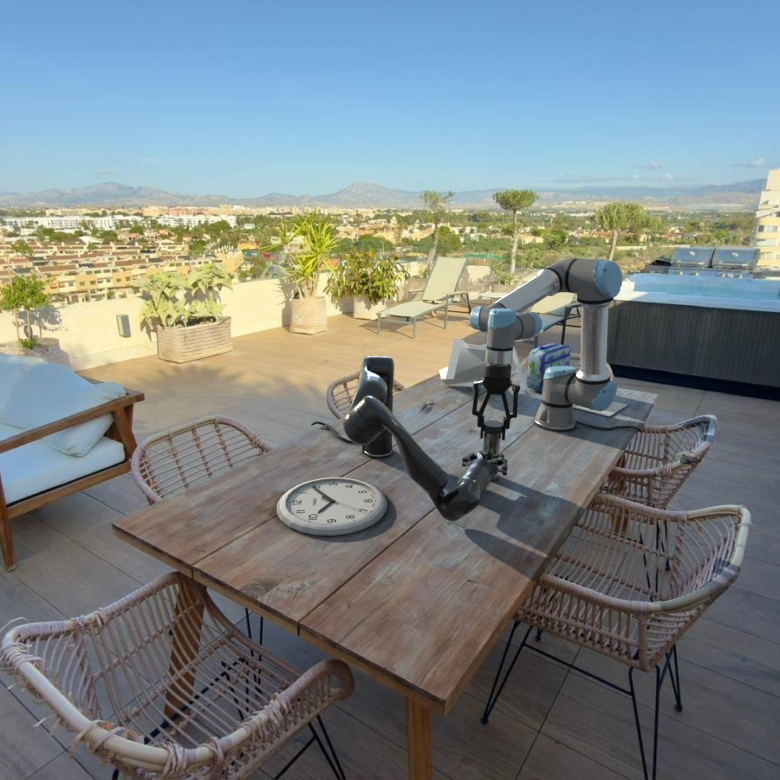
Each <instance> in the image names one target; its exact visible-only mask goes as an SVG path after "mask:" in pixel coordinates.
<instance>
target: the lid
mask: <svg viewBox="0 0 780 780" xmlns="http://www.w3.org/2000/svg"><path fill="white" fill-rule="evenodd" d="M484 432H485V433H488V434H501V435H502V432H503V422H502V421H499V420H491V419H490V420H486V421H485V420H484V430H483V433H484Z"/></svg>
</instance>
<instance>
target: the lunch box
mask: <svg viewBox="0 0 780 780" xmlns="http://www.w3.org/2000/svg"><path fill="white" fill-rule="evenodd" d="M570 361H571V347H570V345H565V344H558V343H549V344H545V345H542V346H541V345H540V346H538V347H536V348H533V349H531V351H530V353H529V354H528V358H527V368H526V380H525V381H526V384H527V387H528V390H530V389H531V390H534V391H535V390H536V391H539V392H541V393H542V391H543V381H544V380H543V378H544V374H545V371H546V369H547V368H550V367H554V366H570Z"/></svg>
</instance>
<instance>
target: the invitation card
mask: <svg viewBox="0 0 780 780" xmlns="http://www.w3.org/2000/svg"><path fill="white" fill-rule="evenodd" d="M628 406H629V404H627V403H623V402H618V401H614V400H613V402H612V403H611V405H610V406H609V407H608V408H607V409H606V410H604V411H596V410H590V409H589V408H585V407H582V406H578V405H575V406H574V407H573V409H575V410H581V411H584V412H587V413H593V414H596V415H600V416H604V417H608V418H609V417H611V416H613V415H614V414H616V413H617V412H619V411H621V410H623V409H624V408H626V407H628Z"/></svg>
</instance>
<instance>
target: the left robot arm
mask: <svg viewBox="0 0 780 780" xmlns="http://www.w3.org/2000/svg"><path fill="white" fill-rule="evenodd" d="M394 379H395V361H394V359H393V357H392V356H379V355H374V356H373V355H369V356H364V358H363V359H362V361H361V363H360V367H359V377H358V380H357V383H356V385H355V389H354V393H353V396H352V400H351V404H350V407H349V409H348V411H347V413H346V414H345V416H344V418H343V420H342V427H343V430H344V433H345V436H347V438H348V439H347V438H345V437H343V436H341V435H339V434H338V433H337V432H336V431H335V430H334V428H333V427H332V425H329V424H327V423H325V422H322V421H317V420H316V421H313V422H312V423H311V424H310V425H311V426H314V425H321V426H323V427H325V428H327V429H329V430H330V432H331V433H332V434H333V435H334V436H335V437H336V438H337V439H339V440H340V441H343V442H346V443H349V444H354V445H359V446H361V451H362V453H363V454H365V455H366V456H367V457H370V458H379V459H381V458H386V457H389V456H391V455H392V454H393V438H394V440H395V442H396V445H397V447H398V451H399V454H400V458H401V462H402V465H403V467H404V470H405V472H406V473H407V475H408V476H409V478H410V479H411V480H412V481H413V482H414V483H415V484H417V485H418V487H420V488H421V489H422V490H423V491H424V492H426V494H427V496H428V497H429V499H430V500H431V501H432V503H433V505H434V506H435V508H436V510H437V512H438V513H439V515H441V517H442V518H443V519H445V520H446V521H450V522H457V521H459V520H460V519H462V518H463V517H465V516H466V515H468V514H470V513H471V512H473V511H474V510H475V509H476V508H477V507H478V506H479V505H480V504H481V503H480V502H481V494H482V493H483V492H484V491H485V490H486V489H487V488H488V486H489V485H490V483H491V481H492V480H491V479H492V478H493V476H494V474H497V473H498V474H499V473H501V474H502V476H507V475H508V467H509V466H508V459H506V458H505V457H506V456H505V454H504V453H503V452H500V453H499V456H498V458H493V459H491V460H485V459H482V457H483V449H482V450H480V451H479V452H477V453H475V452H470V453H468V454H467V455H465V456H463V457H462V458H461V466H462V467H463V468H465V469H464V470H463V472H462V473H461V476H460V477H459V478H458V479H457V481H456V483H455V485H454V488H452V489H451V490H450V491H448V492H447V493H446V492H445V490H444V489H446V486H447V485H448V483H449V480H450V477H449V474H448V473H447V472H446V471H445V470H444V469H443V468H442V467H441V466H440V465H439V464H438V463H436V461H434V460H433V459H432V457H430V456H429V455H428V454H427V453H426V452H425V450H424V449H422V447H421V446H420V445H419V444H418V443H417V442H416V440H415V439H414V438H413V437H412V435H411V434H410V433H409V432H408V430H407V429H406V428H405V427H404V426H403V424H402V423H401V422H400V420H399V419H398V418H397V417H396V416H395V415H394V413H393V410H394V409H393V408H394ZM325 425H327V426H325Z"/></svg>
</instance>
